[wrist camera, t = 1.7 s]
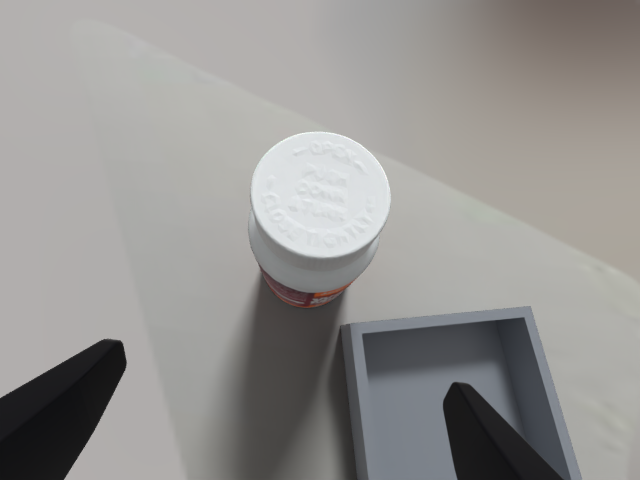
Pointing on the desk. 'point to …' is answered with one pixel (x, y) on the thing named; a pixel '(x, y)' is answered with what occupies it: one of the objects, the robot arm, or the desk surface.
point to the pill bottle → (316, 215)
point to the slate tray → (434, 382)
